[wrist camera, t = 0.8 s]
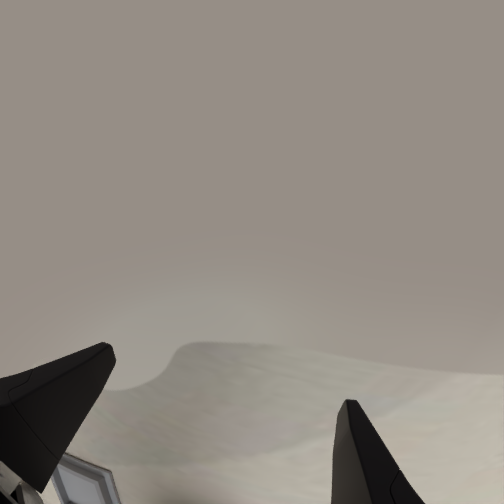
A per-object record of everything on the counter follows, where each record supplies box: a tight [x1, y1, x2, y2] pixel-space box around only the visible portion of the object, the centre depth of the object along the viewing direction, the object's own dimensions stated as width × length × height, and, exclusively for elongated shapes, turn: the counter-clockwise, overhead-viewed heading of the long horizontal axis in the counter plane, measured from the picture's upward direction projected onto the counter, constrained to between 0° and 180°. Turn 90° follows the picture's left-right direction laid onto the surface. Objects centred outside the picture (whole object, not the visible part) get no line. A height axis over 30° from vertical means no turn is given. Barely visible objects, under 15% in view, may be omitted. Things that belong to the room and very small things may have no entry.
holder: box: [51, 453, 121, 504], centre depth 19 cm, size 12×12×2 cm
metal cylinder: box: [20, 483, 43, 504], centre depth 15 cm, size 6×6×10 cm
